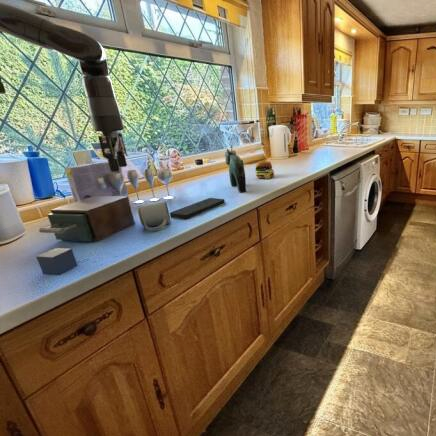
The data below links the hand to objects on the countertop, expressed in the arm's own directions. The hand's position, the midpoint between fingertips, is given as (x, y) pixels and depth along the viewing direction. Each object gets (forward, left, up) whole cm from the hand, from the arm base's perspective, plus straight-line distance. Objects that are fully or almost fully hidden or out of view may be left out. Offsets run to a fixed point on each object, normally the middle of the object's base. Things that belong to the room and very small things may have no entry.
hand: (119, 168), depth 94 cm
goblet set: (-19, +25, -19) cm, 36 cm away
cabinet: (-7, -6, -19) cm, 21 cm away
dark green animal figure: (+14, +50, -19) cm, 55 cm away
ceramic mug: (+9, 0, -19) cm, 21 cm away
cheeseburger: (+18, +74, -19) cm, 78 cm away
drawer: (-7, -11, -18) cm, 22 cm away
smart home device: (+13, +17, -19) cm, 29 cm away
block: (+5, -29, -19) cm, 35 cm away
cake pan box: (-28, +18, -19) cm, 38 cm away
